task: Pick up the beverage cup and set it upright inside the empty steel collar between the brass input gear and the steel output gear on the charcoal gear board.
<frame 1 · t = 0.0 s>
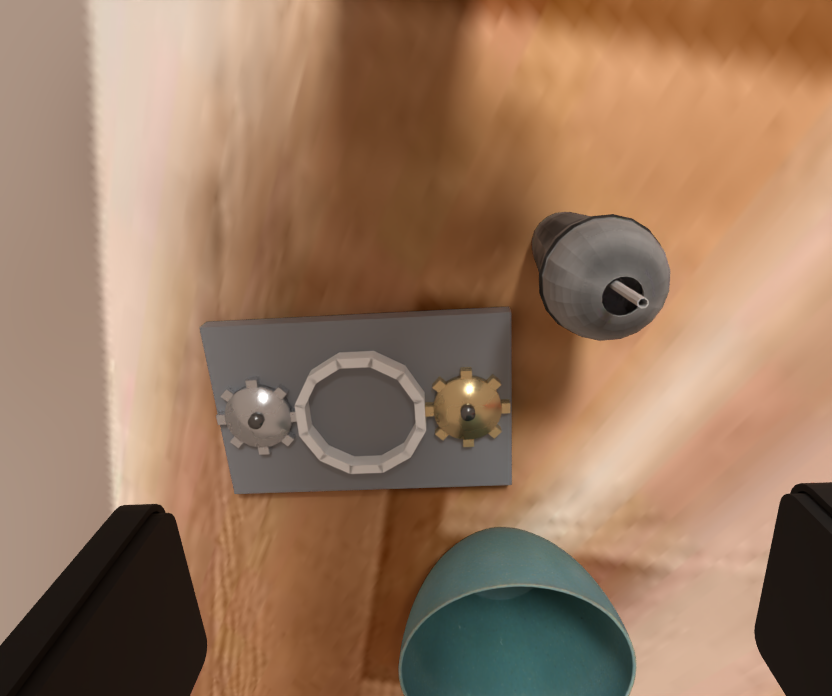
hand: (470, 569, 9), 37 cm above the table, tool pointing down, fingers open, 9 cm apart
plant pot: (499, 561, 55), on the table
input gear: (467, 405, 47), resting on gear board
gear board: (364, 401, 49), on the table
output gear: (260, 414, 48), resting on gear board
beverage cup: (560, 241, 44), on the table
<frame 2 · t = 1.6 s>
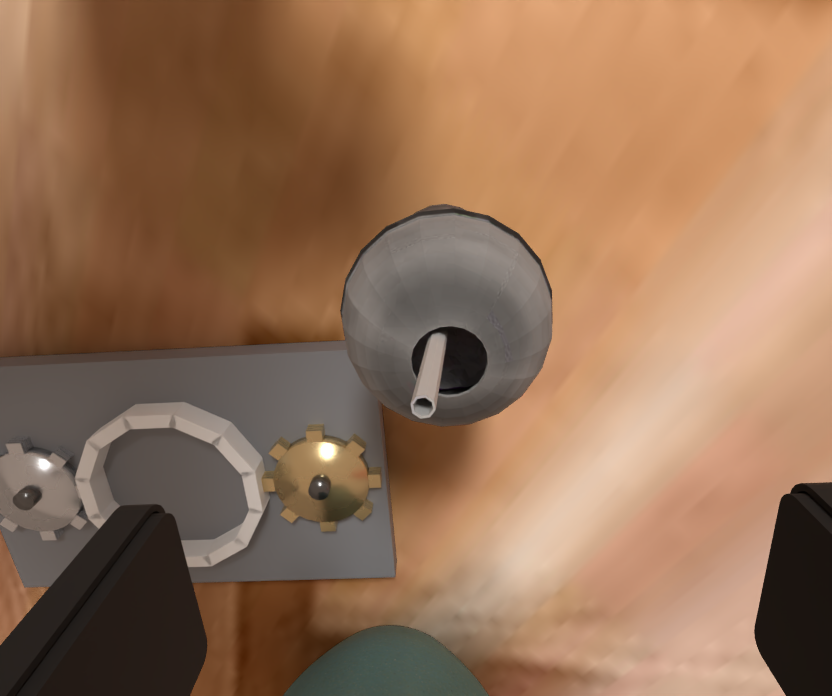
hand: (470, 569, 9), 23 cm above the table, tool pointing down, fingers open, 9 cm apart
plant pot: (393, 664, 42), on the table
input gear: (323, 475, 34), resting on gear board
gear board: (190, 466, 35), on the table
output gear: (40, 485, 35), resting on gear board
beverage cup: (441, 246, 30), on the table
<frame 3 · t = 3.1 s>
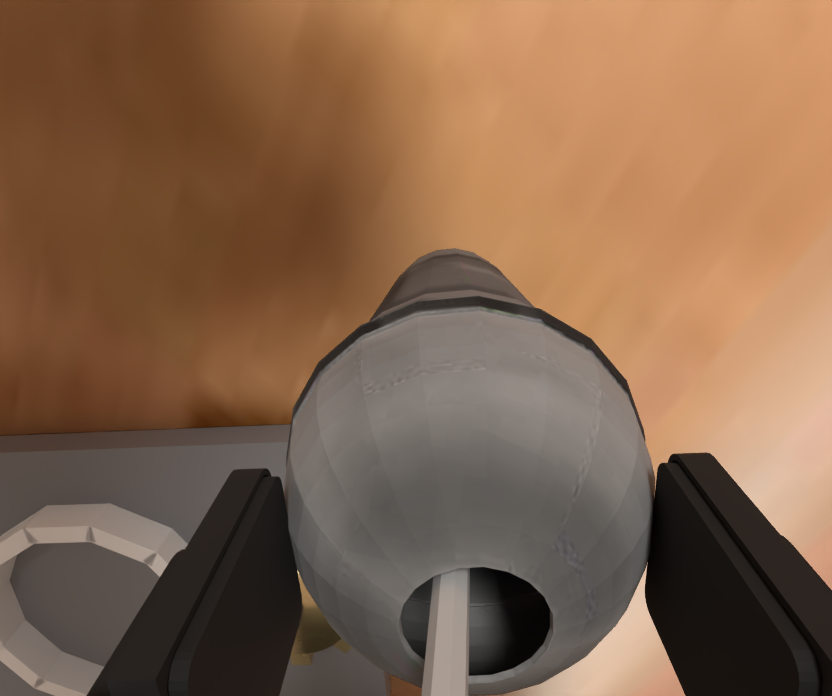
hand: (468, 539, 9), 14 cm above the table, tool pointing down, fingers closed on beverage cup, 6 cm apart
input gear: (294, 594, 26), resting on gear board
gear board: (126, 574, 28), on the table
beverage cup: (450, 304, 22), on the table, touching gripper
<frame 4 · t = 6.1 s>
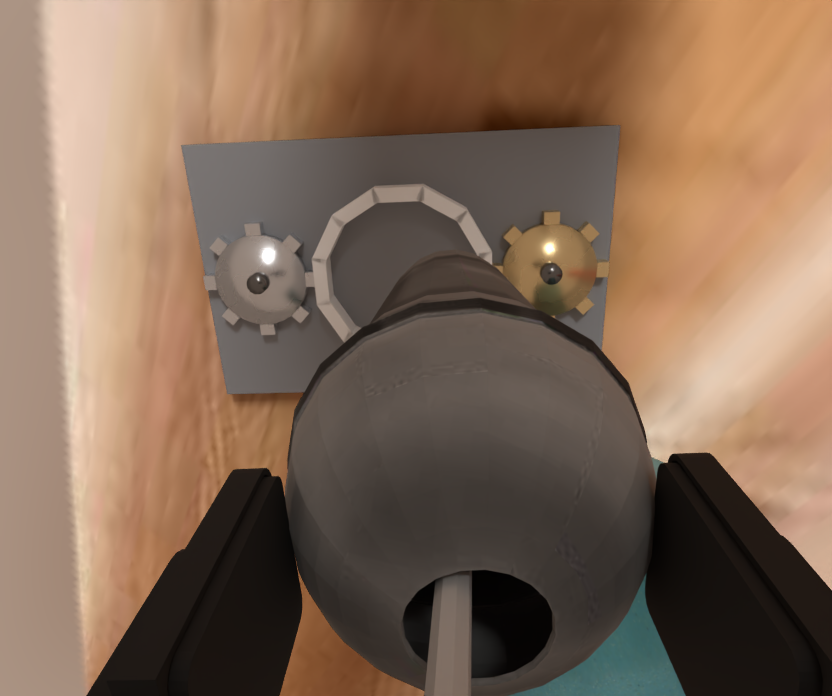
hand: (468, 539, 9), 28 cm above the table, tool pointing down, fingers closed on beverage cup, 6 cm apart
plant pot: (568, 495, 42), on the table
input gear: (547, 268, 34), resting on gear board
gear board: (405, 267, 36), on the table
output gear: (264, 278, 35), resting on gear board
beverage cup: (450, 304, 22), point 14 cm above the table, touching gripper
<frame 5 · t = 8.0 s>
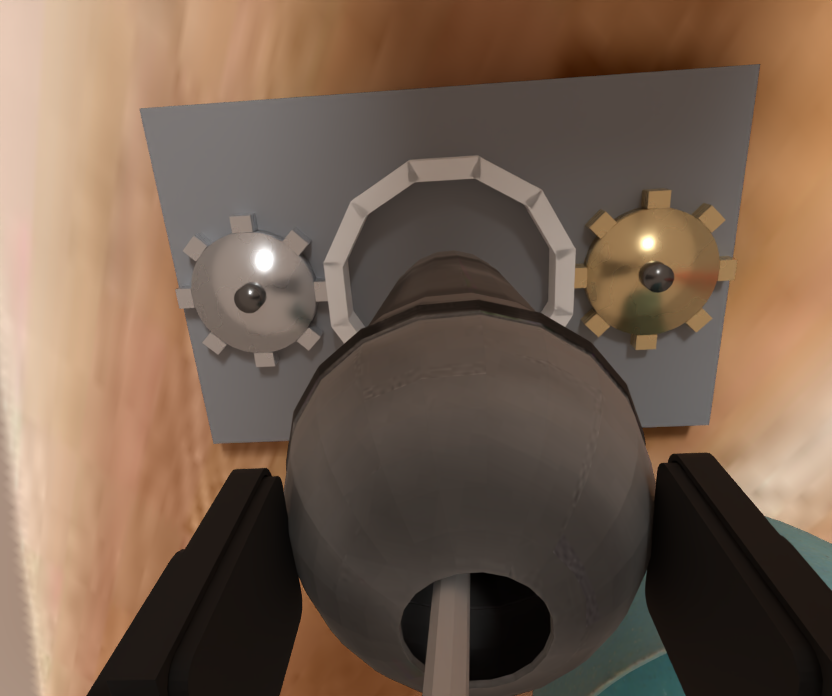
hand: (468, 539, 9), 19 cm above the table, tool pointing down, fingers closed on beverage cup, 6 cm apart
plant pot: (656, 561, 33), on the table
input gear: (646, 269, 25), resting on gear board
gear board: (448, 272, 27), on the table
output gear: (258, 290, 26), resting on gear board
beverage cup: (450, 305, 22), point 5 cm above the table, touching gripper
when the fingers open (16 cm above the table, at t = 9.0 s): beverage cup drops 1 cm, resting on gear board.
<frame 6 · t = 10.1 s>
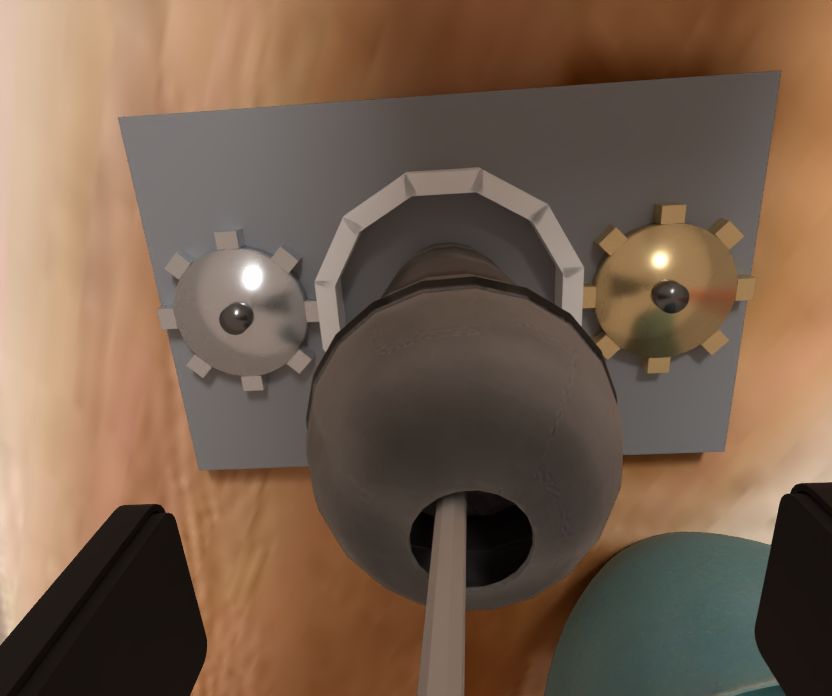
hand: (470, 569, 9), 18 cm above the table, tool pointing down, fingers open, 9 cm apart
plant pot: (667, 591, 31), on the table
input gear: (658, 288, 24), resting on gear board
gear board: (447, 290, 25), on the table
output gear: (245, 309, 24), resting on gear board
beverage cup: (447, 294, 24), point 1 cm above the table, touching gear board
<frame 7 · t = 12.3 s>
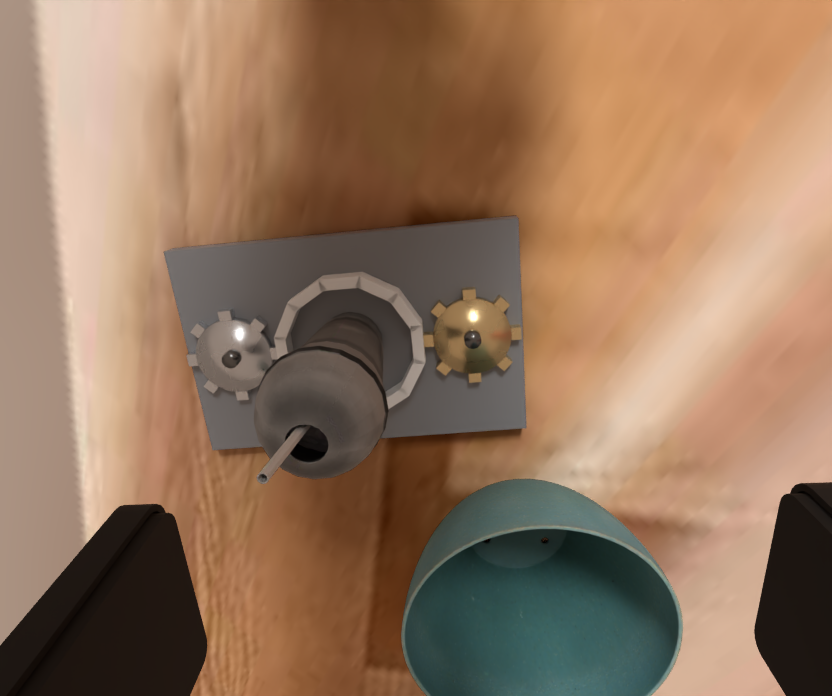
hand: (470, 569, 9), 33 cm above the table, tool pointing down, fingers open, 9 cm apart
plant pot: (515, 523, 48), on the table
input gear: (471, 333, 41), resting on gear board
gear board: (355, 337, 43), on the table
output gear: (237, 353, 42), resting on gear board
beverage cup: (352, 340, 42), point 1 cm above the table, touching gear board
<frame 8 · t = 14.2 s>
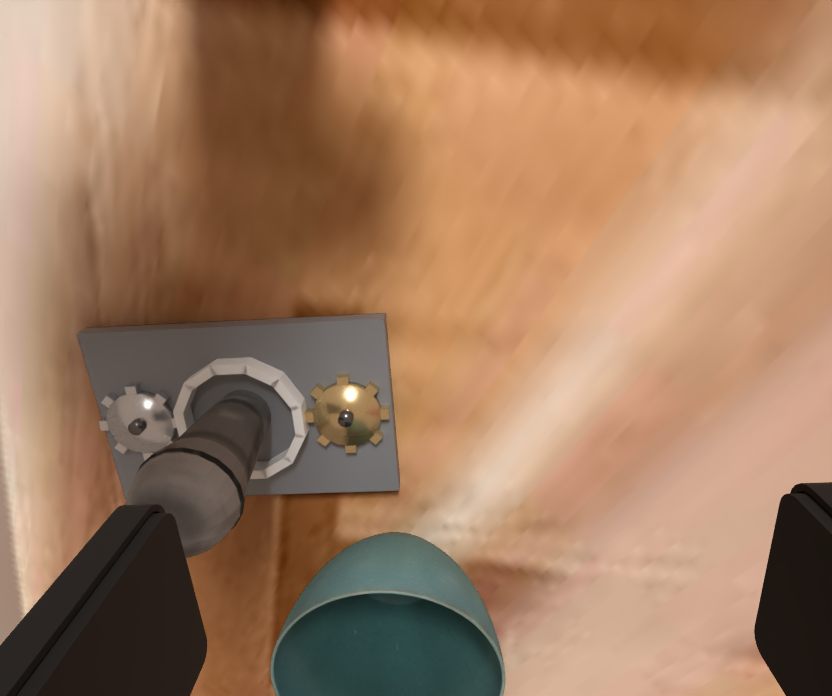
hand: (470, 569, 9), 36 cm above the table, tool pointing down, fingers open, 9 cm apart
plant pot: (397, 566, 55), on the table
input gear: (348, 411, 47), resting on gear board
gear board: (250, 407, 49), on the table
output gear: (144, 419, 48), resting on gear board
beverage cup: (245, 412, 48), point 1 cm above the table, touching gear board
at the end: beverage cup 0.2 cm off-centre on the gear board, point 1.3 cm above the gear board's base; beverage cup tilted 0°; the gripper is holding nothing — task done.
